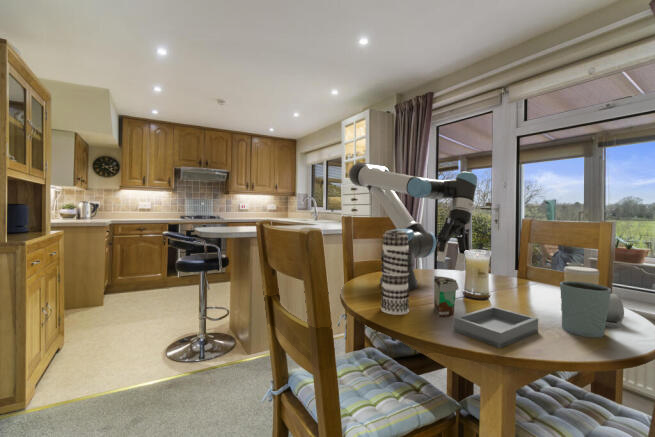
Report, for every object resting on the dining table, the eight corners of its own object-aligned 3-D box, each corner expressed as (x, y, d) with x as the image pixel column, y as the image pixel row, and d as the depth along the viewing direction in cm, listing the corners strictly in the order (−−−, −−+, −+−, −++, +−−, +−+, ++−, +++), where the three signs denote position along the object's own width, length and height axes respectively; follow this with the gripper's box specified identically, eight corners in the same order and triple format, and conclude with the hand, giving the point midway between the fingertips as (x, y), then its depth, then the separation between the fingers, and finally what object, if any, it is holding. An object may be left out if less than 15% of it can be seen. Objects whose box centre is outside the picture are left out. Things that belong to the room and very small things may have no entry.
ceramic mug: (575, 314, 93) (576, 289, 93) (607, 316, 91) (608, 291, 91) (596, 327, 83) (597, 299, 83) (632, 330, 81) (634, 301, 81)
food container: (462, 320, 87) (462, 285, 87) (439, 318, 88) (440, 284, 88) (453, 307, 99) (454, 276, 99) (433, 306, 101) (434, 275, 100)
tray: (453, 330, 80) (453, 317, 79) (491, 318, 89) (492, 306, 89) (500, 348, 69) (500, 333, 69) (537, 331, 79) (538, 318, 79)
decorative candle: (416, 311, 94) (417, 230, 94) (394, 317, 90) (395, 231, 89) (395, 304, 102) (396, 229, 102) (374, 308, 97) (374, 230, 97)
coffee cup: (588, 300, 108) (589, 266, 107) (605, 309, 98) (606, 271, 98) (557, 298, 110) (558, 265, 109) (572, 306, 101) (572, 270, 100)
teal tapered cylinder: (550, 323, 86) (551, 280, 85) (589, 324, 84) (591, 281, 84) (576, 338, 75) (577, 289, 75) (621, 340, 74) (622, 291, 74)
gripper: (454, 199, 106) (442, 258, 102) (484, 222, 121) (475, 275, 117) (434, 199, 112) (422, 256, 108) (465, 222, 127) (456, 272, 123)
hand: (450, 266), depth 112 cm, fingers open, 13 cm apart
